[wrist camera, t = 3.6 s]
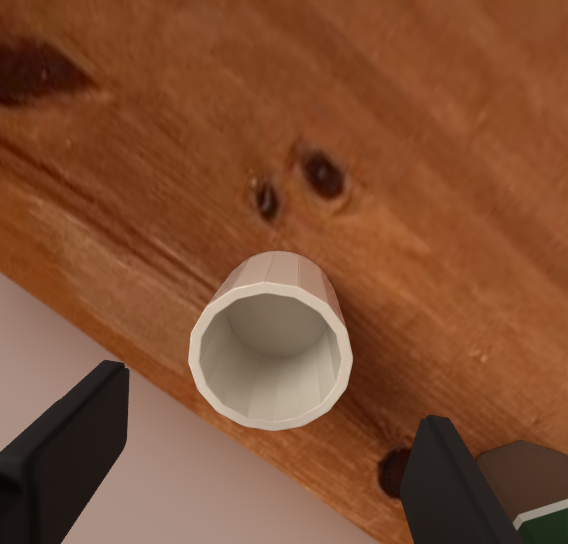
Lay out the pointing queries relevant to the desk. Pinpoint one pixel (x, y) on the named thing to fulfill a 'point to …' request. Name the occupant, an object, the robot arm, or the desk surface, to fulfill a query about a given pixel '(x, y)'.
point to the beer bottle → (530, 489)
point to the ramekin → (272, 344)
